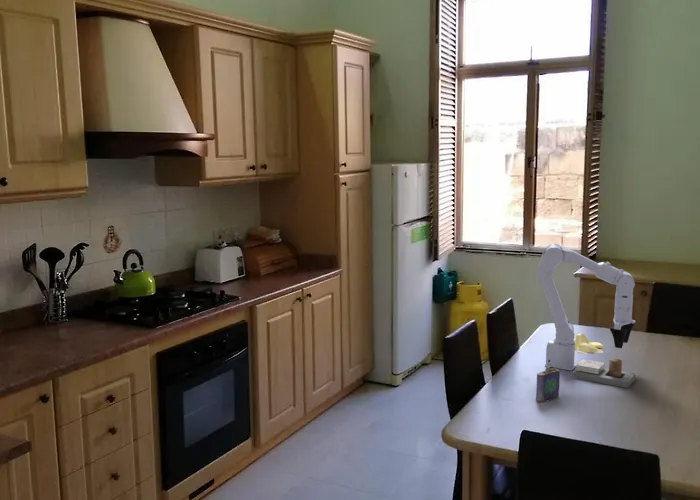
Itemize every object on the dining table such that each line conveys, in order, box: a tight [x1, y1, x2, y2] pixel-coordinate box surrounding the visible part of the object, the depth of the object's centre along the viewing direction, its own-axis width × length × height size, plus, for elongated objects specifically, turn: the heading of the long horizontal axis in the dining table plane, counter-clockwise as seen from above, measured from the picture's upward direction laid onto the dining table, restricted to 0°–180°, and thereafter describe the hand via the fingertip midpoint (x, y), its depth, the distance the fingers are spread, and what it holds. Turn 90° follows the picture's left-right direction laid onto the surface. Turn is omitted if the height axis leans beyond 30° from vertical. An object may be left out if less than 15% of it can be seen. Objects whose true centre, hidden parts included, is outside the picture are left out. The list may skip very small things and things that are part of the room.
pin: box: [608, 358, 623, 378], centre depth 226 cm, size 4×4×7 cm
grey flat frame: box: [572, 367, 637, 389], centre depth 229 cm, size 18×10×2 cm, turn 54°
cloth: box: [574, 333, 604, 355], centre depth 263 cm, size 22×19×6 cm
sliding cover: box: [575, 358, 606, 374], centre depth 231 cm, size 8×8×2 cm
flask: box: [535, 365, 561, 403], centre depth 210 cm, size 9×3×11 cm, turn 121°
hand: (621, 345), depth 235 cm, fingers open, 7 cm apart
